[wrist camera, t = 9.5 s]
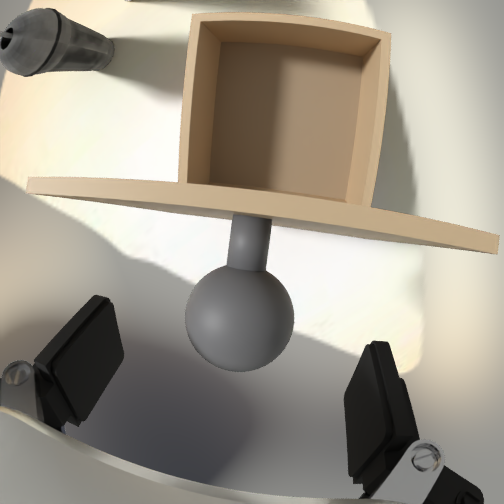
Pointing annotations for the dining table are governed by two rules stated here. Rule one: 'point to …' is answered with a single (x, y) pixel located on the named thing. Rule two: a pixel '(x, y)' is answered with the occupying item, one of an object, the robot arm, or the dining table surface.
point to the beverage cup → (52, 45)
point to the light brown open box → (284, 105)
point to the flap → (256, 253)
